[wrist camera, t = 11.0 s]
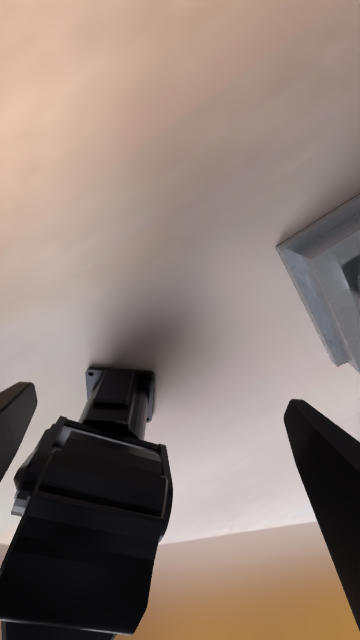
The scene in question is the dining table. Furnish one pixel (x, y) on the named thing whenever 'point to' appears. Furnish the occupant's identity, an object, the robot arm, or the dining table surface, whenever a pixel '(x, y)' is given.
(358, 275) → the steel vacuum flask
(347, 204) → the grey tray with handle
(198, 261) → the dining table surface
